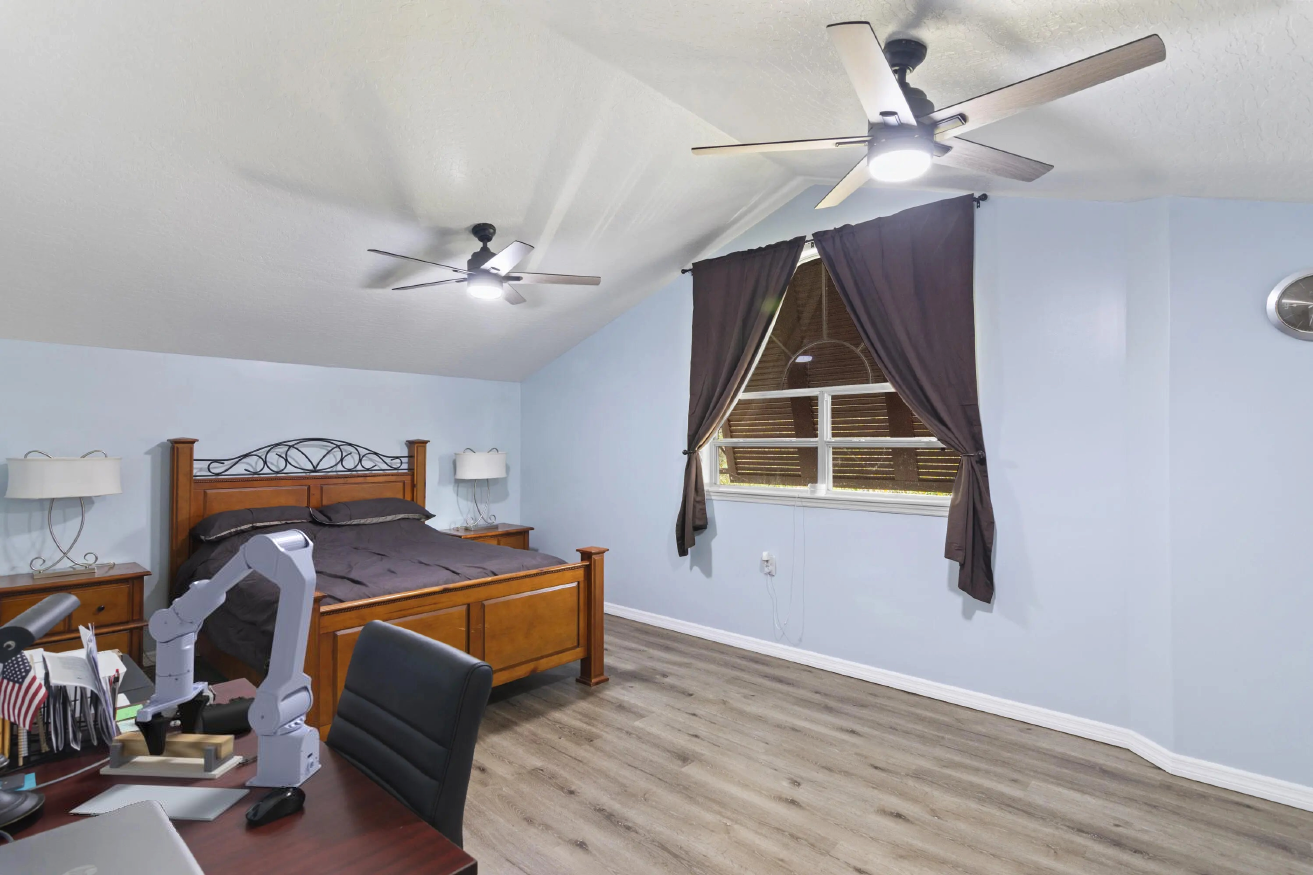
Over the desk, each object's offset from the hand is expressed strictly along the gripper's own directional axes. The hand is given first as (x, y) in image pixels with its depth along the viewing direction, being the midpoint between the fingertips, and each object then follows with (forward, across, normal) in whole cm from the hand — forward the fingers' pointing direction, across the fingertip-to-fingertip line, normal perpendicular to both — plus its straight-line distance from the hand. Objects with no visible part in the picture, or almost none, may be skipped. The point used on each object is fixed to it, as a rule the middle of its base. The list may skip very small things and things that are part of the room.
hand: (172, 745), depth 124 cm
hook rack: (+4, 0, 0) cm, 4 cm away
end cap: (+4, -14, 0) cm, 15 cm away
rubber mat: (+4, +12, +8) cm, 15 cm away
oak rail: (+2, 0, 0) cm, 2 cm away
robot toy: (+4, -22, -14) cm, 26 cm away
